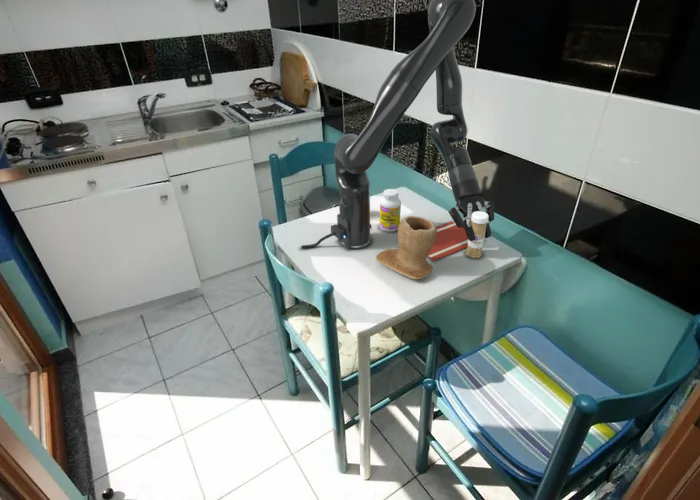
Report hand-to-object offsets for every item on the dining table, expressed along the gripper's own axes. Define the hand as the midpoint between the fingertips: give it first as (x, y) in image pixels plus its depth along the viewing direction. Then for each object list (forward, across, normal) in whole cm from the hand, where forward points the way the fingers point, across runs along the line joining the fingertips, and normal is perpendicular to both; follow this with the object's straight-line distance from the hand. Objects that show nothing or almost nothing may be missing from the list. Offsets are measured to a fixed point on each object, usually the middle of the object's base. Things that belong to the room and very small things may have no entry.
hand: (480, 238), depth 118 cm
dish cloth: (-4, -5, +13) cm, 14 cm away
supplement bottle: (-13, -18, +22) cm, 31 cm away
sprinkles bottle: (+3, 0, +6) cm, 7 cm away
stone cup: (+3, -21, +6) cm, 22 cm away
